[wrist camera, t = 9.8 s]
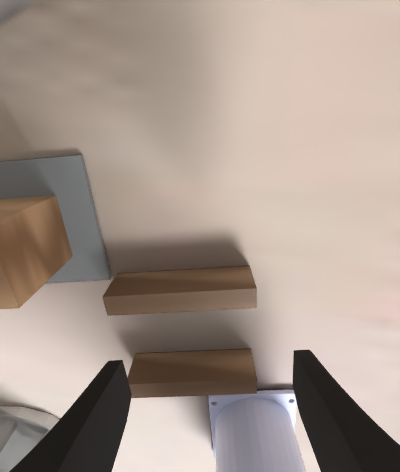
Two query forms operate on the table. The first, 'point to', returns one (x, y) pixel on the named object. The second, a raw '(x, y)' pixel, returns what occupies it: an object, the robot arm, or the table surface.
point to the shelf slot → (181, 300)
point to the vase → (21, 433)
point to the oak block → (30, 247)
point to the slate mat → (63, 209)
